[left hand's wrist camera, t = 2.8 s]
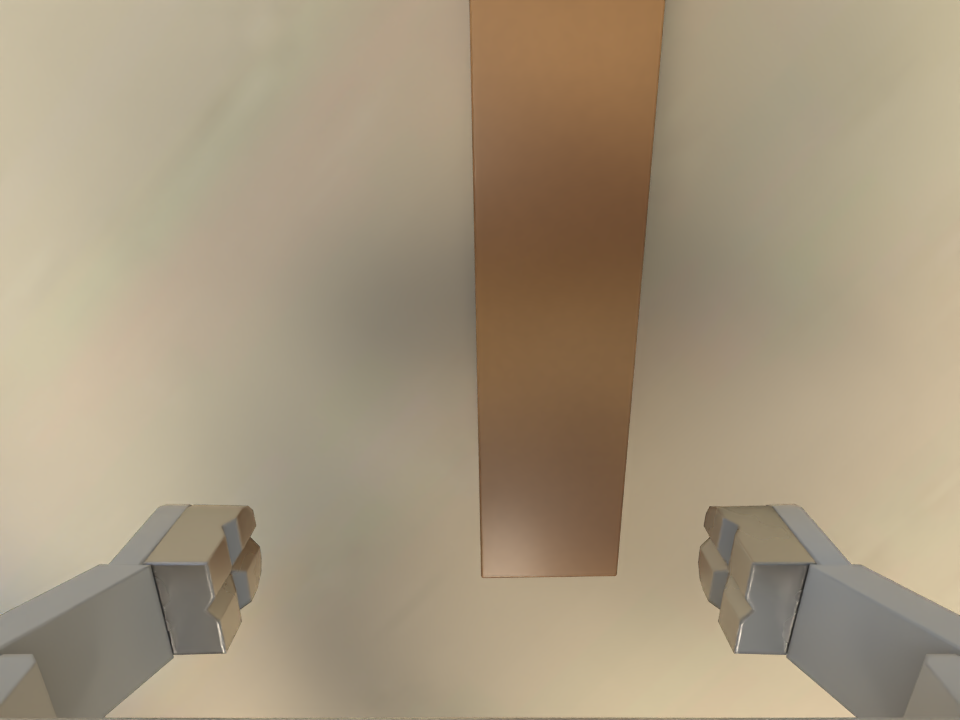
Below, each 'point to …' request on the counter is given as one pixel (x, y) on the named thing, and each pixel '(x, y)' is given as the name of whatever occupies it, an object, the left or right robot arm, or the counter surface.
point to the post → (558, 270)
